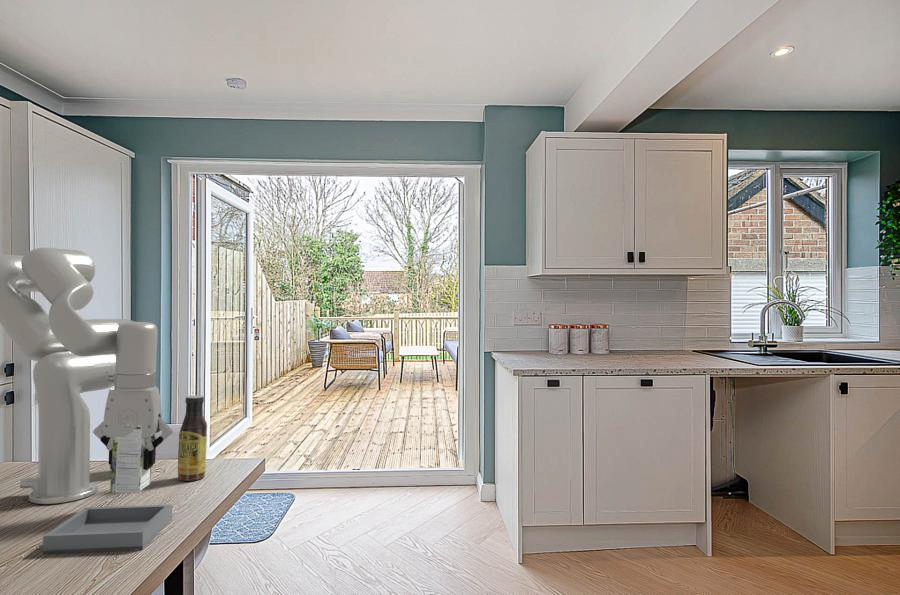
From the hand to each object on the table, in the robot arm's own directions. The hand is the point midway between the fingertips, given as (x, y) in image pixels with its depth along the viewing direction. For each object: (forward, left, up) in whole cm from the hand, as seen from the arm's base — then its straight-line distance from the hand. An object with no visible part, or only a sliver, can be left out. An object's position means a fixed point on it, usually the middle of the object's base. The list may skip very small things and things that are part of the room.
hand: (131, 467), depth 122 cm
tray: (+3, -16, -8) cm, 18 cm away
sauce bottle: (+6, +19, -9) cm, 22 cm away
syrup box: (0, 0, -5) cm, 5 cm away
